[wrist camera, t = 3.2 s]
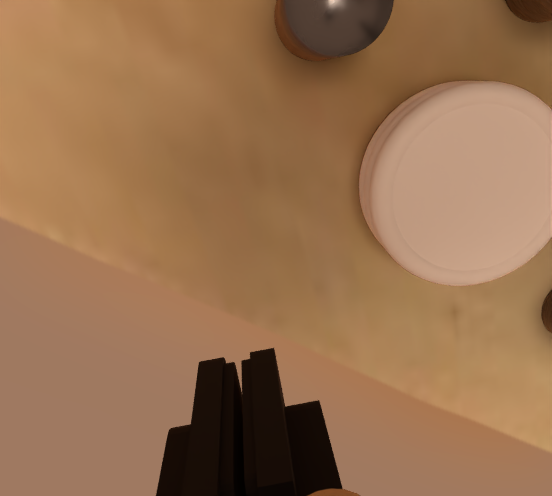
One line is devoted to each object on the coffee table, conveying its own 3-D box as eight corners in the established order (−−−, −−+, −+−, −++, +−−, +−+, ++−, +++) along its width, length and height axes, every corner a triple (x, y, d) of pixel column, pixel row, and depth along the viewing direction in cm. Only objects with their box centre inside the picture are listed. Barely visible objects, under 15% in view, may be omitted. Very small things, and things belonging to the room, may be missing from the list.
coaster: (406, 296, 30) (428, 324, 26) (322, 147, 27) (334, 157, 23) (565, 206, 28) (608, 224, 25) (496, 41, 25) (535, 36, 22)
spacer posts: (627, -85, 24) (748, -137, 18) (606, 331, 31) (689, 388, 25) (267, -24, 24) (276, -56, 18) (329, 381, 31) (349, 450, 25)
